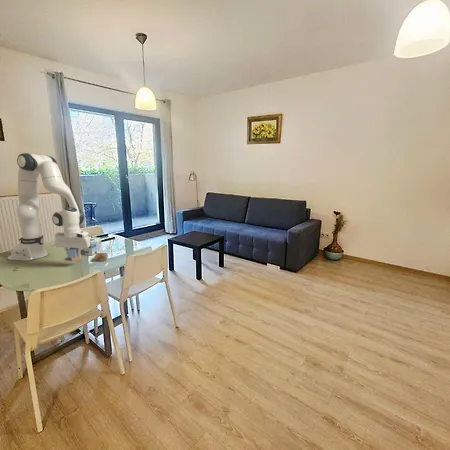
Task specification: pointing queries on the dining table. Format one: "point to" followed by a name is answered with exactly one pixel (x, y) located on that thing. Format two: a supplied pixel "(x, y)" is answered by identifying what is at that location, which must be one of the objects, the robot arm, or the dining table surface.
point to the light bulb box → (94, 246)
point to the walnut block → (100, 257)
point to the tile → (101, 264)
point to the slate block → (72, 252)
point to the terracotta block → (77, 257)
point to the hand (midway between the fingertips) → (73, 253)
